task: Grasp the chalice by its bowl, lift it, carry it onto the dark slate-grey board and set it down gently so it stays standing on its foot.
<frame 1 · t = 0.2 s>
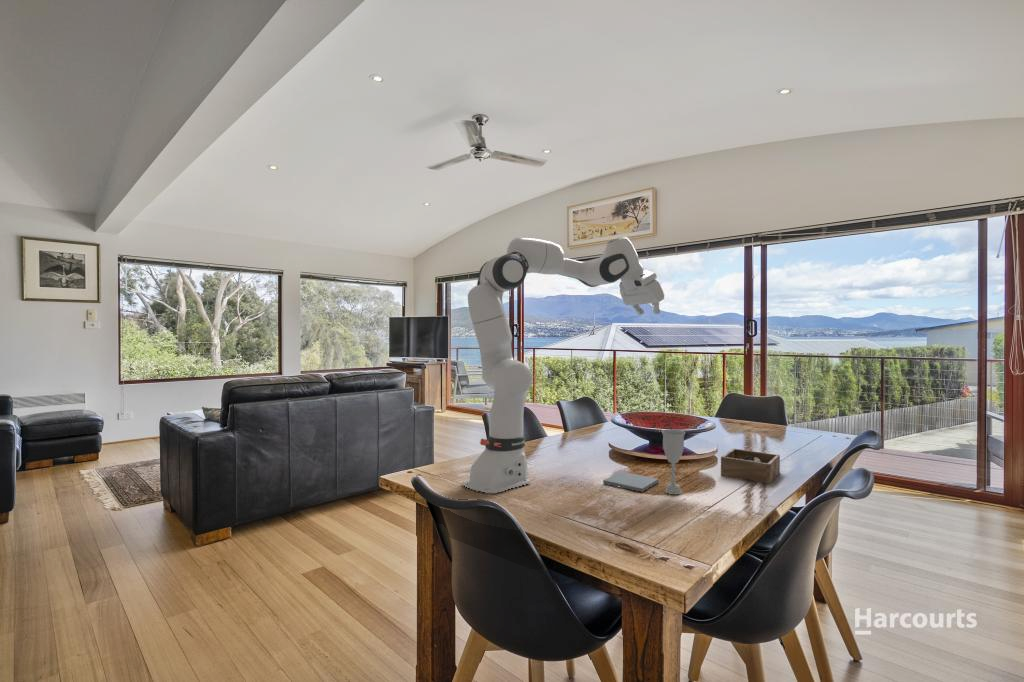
hand: (649, 313, 177), 54 cm above the table, tool tilted 30°, fingers open, 8 cm apart
chalice: (673, 492, 144), on the table
walnut display box: (750, 473, 162), on the table
eagle figurine: (750, 475, 161), resting in walnut display box
slate board: (631, 483, 152), on the table
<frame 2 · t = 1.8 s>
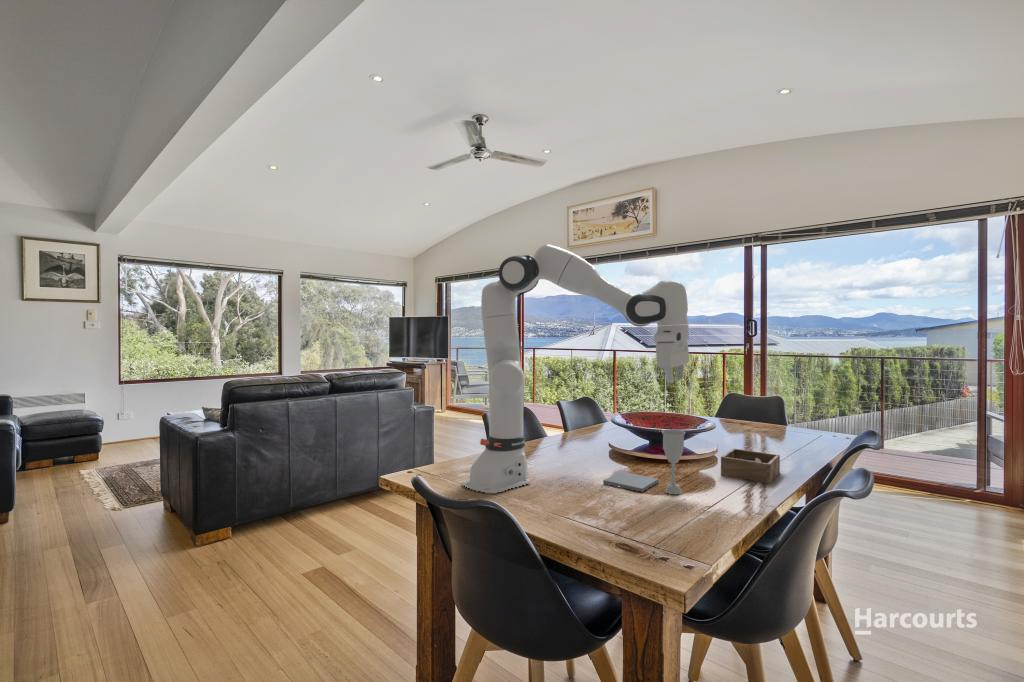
hand: (674, 380, 146), 33 cm above the table, tool pointing down, fingers open, 8 cm apart
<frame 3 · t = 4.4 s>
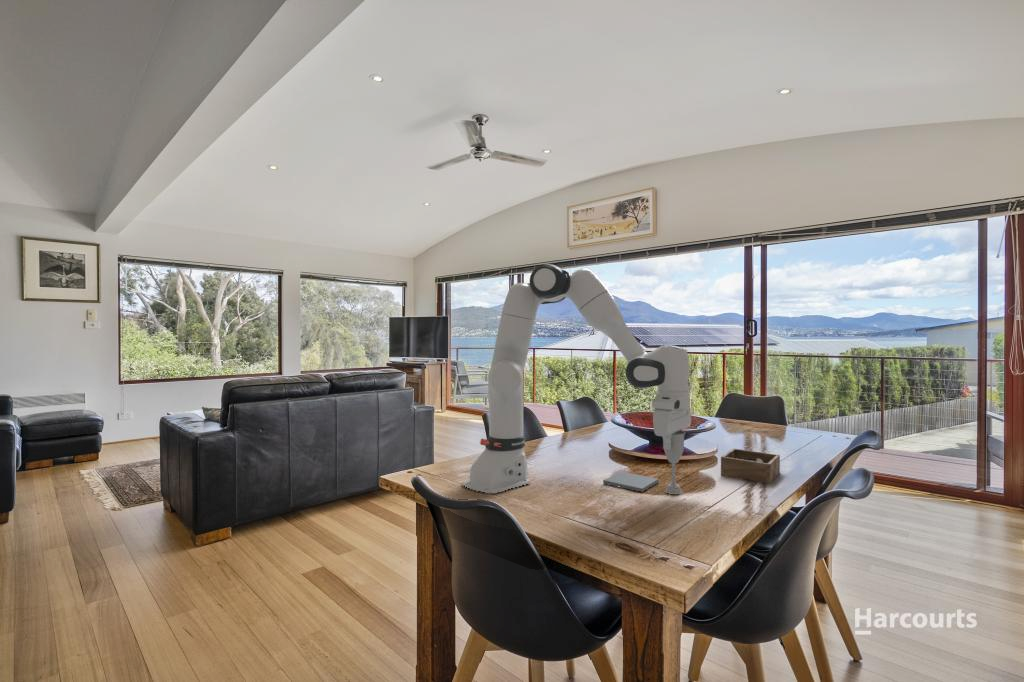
hand: (673, 446, 144), 14 cm above the table, tool pointing down, fingers closed on chalice, 6 cm apart
chalice: (673, 492, 144), on the table, touching gripper
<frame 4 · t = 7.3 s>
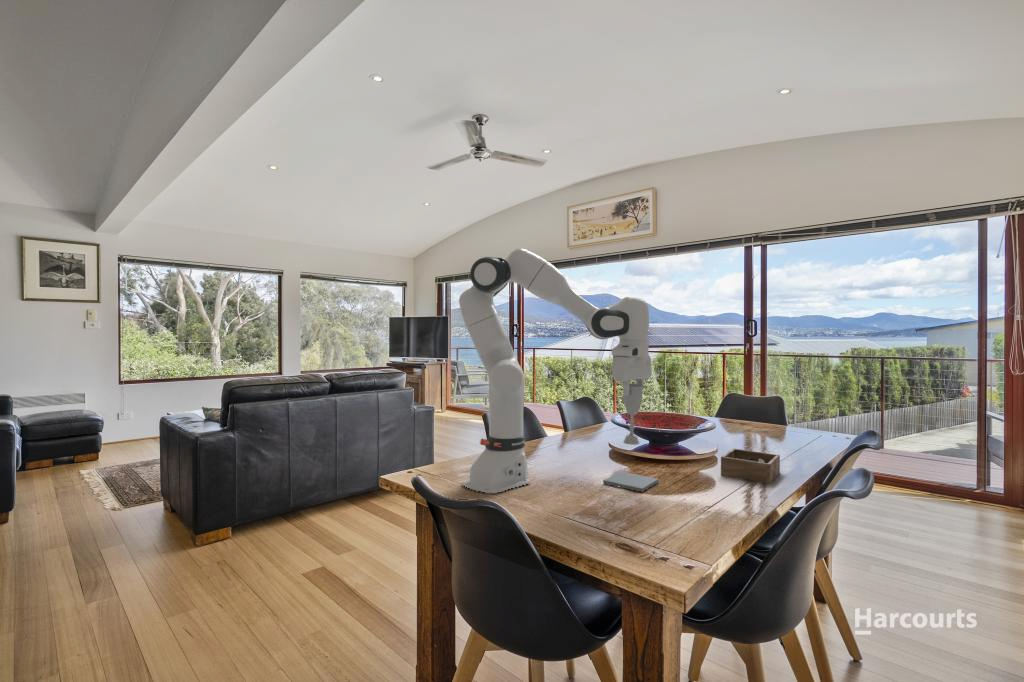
hand: (632, 394, 151), 28 cm above the table, tool pointing down, fingers closed on chalice, 6 cm apart
chalice: (631, 443, 152), point 13 cm above the table, touching gripper
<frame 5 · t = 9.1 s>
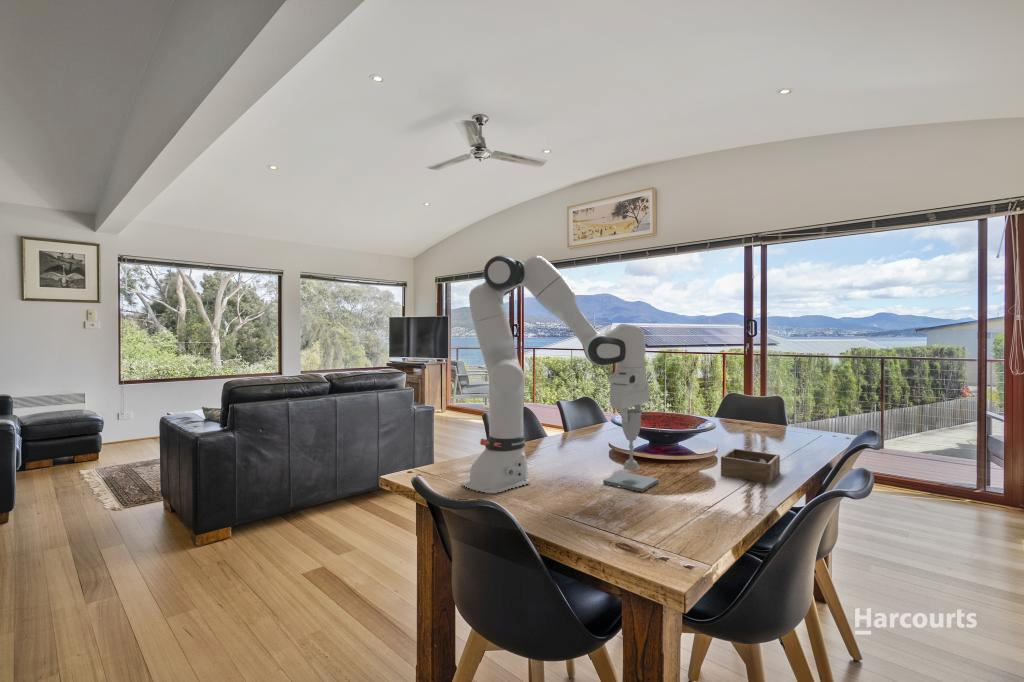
hand: (631, 419, 152), 20 cm above the table, tool pointing down, fingers closed on chalice, 6 cm apart
chalice: (631, 468, 152), point 5 cm above the table, touching gripper
when the fingers open (16 cm above the table, at t = 10.4 s): chalice stays where it is, resting on slate board.
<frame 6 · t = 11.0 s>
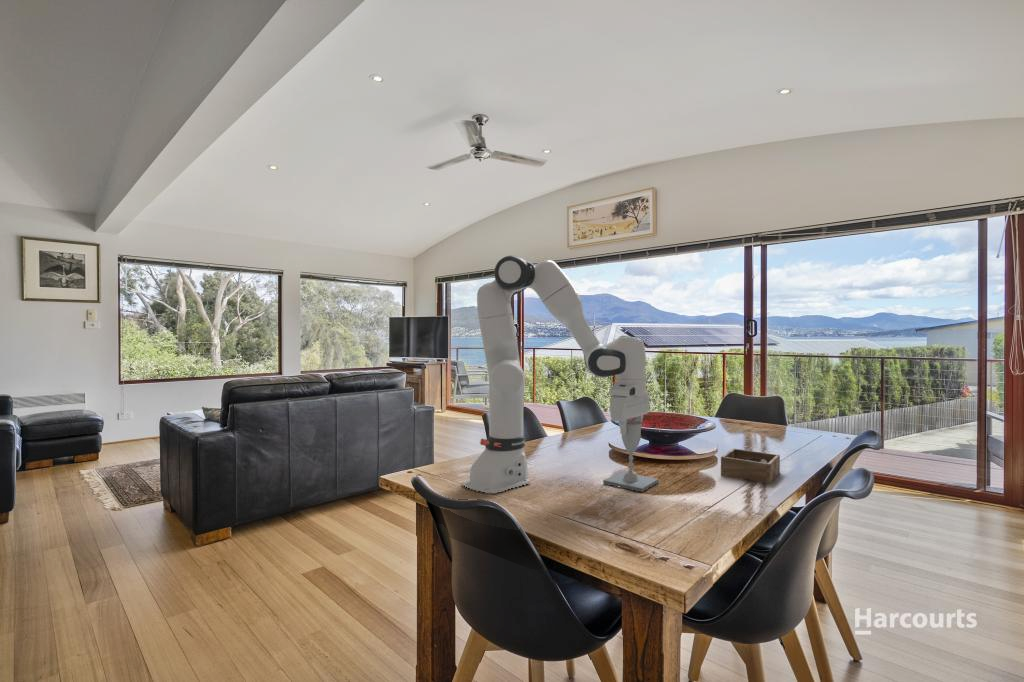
hand: (631, 431, 152), 16 cm above the table, tool pointing down, fingers open, 8 cm apart
chalice: (630, 480, 152), point 1 cm above the table, touching slate board
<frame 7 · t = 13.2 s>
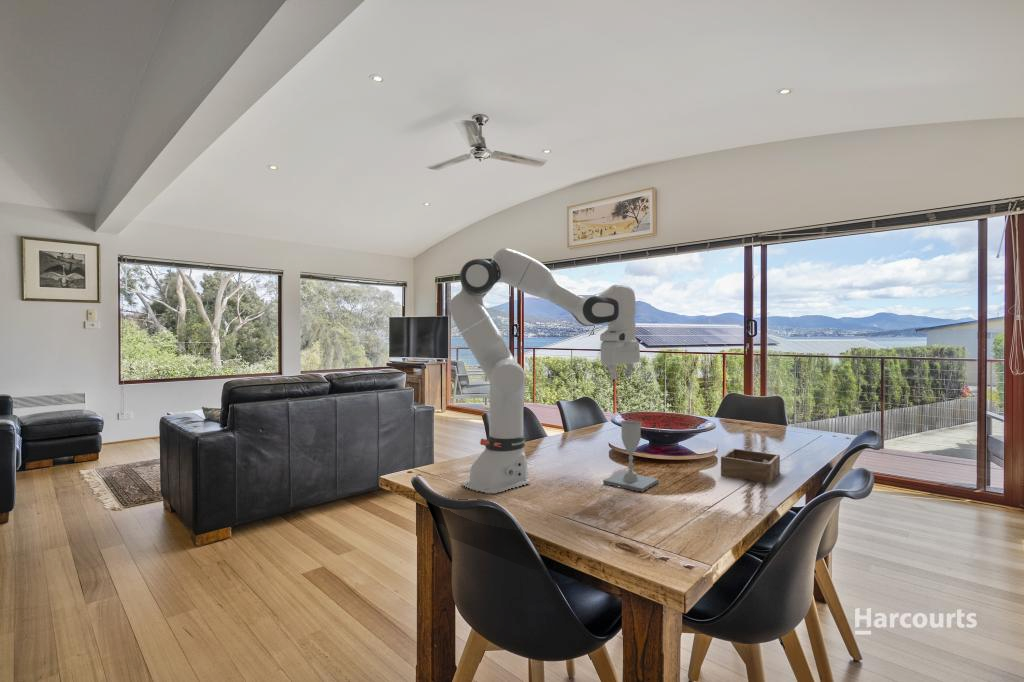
hand: (621, 377, 158), 33 cm above the table, tool pointing down, fingers open, 8 cm apart
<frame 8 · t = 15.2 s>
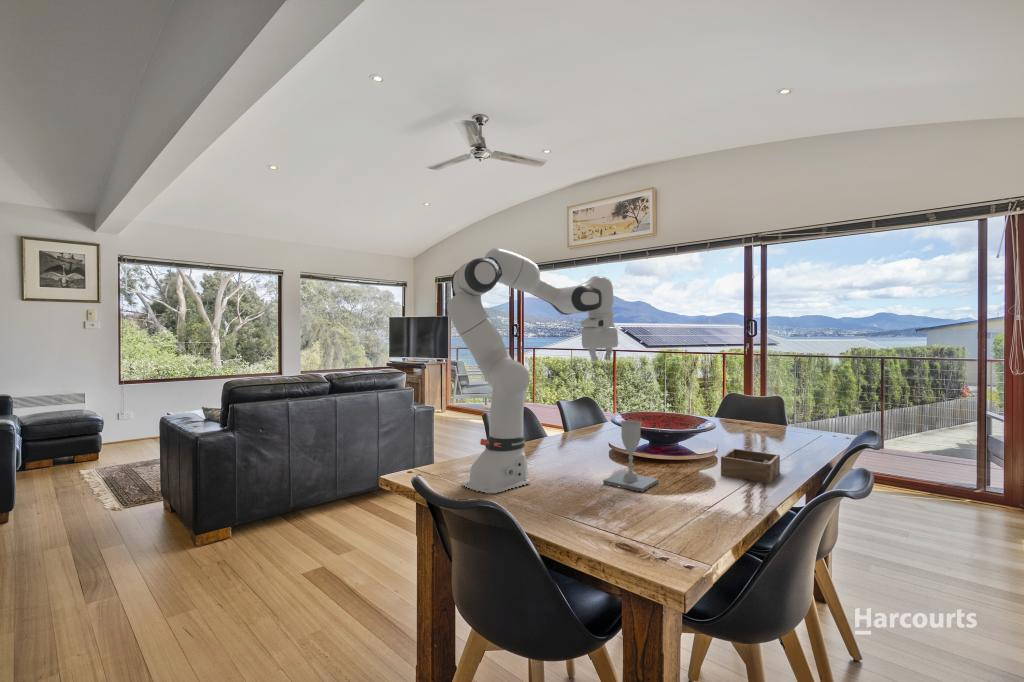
hand: (600, 360, 174), 37 cm above the table, tool pointing down, fingers open, 8 cm apart
at the end: chalice inside the target area on the slate board (0.1 cm from its centre), point 1.0 cm above the slate board's base; chalice tilted 0°; the gripper is holding nothing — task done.
